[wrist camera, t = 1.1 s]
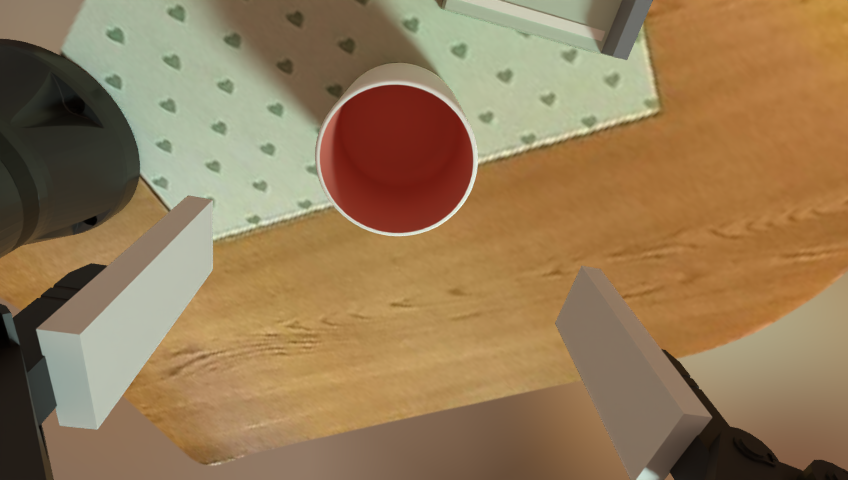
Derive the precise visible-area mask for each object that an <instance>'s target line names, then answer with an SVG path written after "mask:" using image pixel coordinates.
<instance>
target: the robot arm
mask: <svg viewBox="0 0 848 480" xmlns="http://www.w3.org/2000/svg"><path fill="white" fill-rule="evenodd" d="M139 173H140V161H139V153H138V148H137V144H136V141H135V138H134V135H133V133H132V130H131V128H130V126H129V124H128V122H127V120H126V118H125V117H124V115H123V113H122V112H121V110H120V109H119V107H118V106H117V104H116V103H115V102H114V100H113V99H112V98H111V97H110V96H109V94H108V93H107V92H106V91H105V90H104V89H103V88H102V87H101V86H100V85H99V84H98V83H97V82H96V81H95V80H94V79H93V78H92V77H90V76H89V75H88V74H87V73H86V72H84V71H83V70H82V69H80V68H79V67H77V66H76V65H75V64H73V63H71V62H70V61H68V60H67V59H65V58H63V57H61V56H60V55H58V54H56V53H53V52H51V51H49V50H47V49H44V48H42V47H39V46H36V45H33V44H29V43H26V42H22V41H16V40H9V39H0V258H1V257H3V256H5V255H6V254H8V253H9V252H11V251H13V250H15V249H16V248H18V247H20V246H22V245H26V244H31V243H36V242H41V241H46V240H51V239H56V238H60V237H65V236H70V235H75V234H79V233H83V232H86V231H88V230H91V229H93V228H95V227H97V226H99V225H101V224H102V223H104V222H105V221H107V220H108V219H110V218H111V217H113V216H114V215H116V214H117V213H119V212H120V211H121V210H122V209H123V208H124V207H125V206H126V205H127V204H128V202H129V201H130V200H131V198H132V197H133V195H134V193H135V190H136V187H137V184H138V180H139ZM212 270H213V200H211V199H205V198H199V197H194V196H187V197H186V198H185V199H183V200H182V201H181V202H180V203H179V204H178V205H177V206H176V207H174V208H173V209H172V210H171V211H170V212H169V213H168V214H166V215H165V216H164V217H163V218H162V219H161V220H160V221H158V222H157V223H156V224H155V225H154V226H153V227H152V228H150V229H149V230H148V231H147V232H146V233H145V234H144V235H143V236H141V237H140V238H139V239H138V240H137V241H136V242H135V243H133V244H132V245H131V246H130V247H129V248H128V249H127V250H125V251H124V252H123V253H122V254H121V255H120V256H119V257H117V258H116V259H115V260H114V261H113V262H112V263H111V264H110V265H108V266H106V265H99V264H92V263H91V264H89V265H86V266H84V267H81V268H79V269H77V270H74V271H72V272H70V273H68V274H67V275H66V276H65V277H63V278H62V279H61V280H60V281H58V282H57V283H56V284H55V285H54V287H53V288H49V289H48V290H47V291H46V292H44V293H43V294H42V295H41V297H40V298H37V299H36V300H34V301H33V302H32V303H31V304H29V305H28V306H27V307H26V308H24V309H23V310H22V311H21V312H19V313H18V314H17V315H16V316H14V317H13V318H12V315H11V312H10V311H9V309H8V308H7V307H6V306H5V305H2V304H0V480H54V479H53V475H52V469H51V465H50V460H49V455H48V451H47V446H46V441H45V436H44V432H43V428H42V423H43V421H44V420H45V419H46V418H47V417H48V415H49V414H50V413H51V412H52V411H53V410H54V409H55V408H56V412H57V416H58V421H59V424H60V426H68V427H78V428H87V429H98V428H99V427H100V425H101V424H102V422H103V421H104V420H105V418H106V417H107V416H108V414H109V413H110V411H111V410H112V409H113V407H114V406H115V405H116V403H117V402H118V400H119V399H120V398H121V396H122V395H123V393H124V392H125V391H126V389H127V388H128V387H129V385H130V384H131V382H132V381H133V380H134V378H135V377H136V375H137V374H138V373H139V371H140V370H141V369H142V367H143V366H144V364H145V363H146V362H147V360H148V359H149V357H150V356H151V355H152V353H153V352H154V351H155V349H156V348H157V346H158V345H159V344H160V342H161V341H162V339H163V338H164V337H165V335H166V334H167V333H168V331H169V330H170V328H171V327H172V326H173V324H174V323H175V321H176V320H177V319H178V317H179V316H180V315H181V313H182V312H183V310H184V309H185V308H186V306H187V305H188V303H189V302H190V301H191V299H192V298H193V297H194V295H195V294H196V292H197V291H198V290H199V288H200V287H201V285H202V284H203V283H204V281H205V280H206V279H207V277H208V276H209V274H210V273H211V272H212ZM555 324H556V326H557V328H558V330H559V333H560V335H561V337H562V339H563V341H564V343H565V345H566V347H567V349H568V351H569V353H570V355H571V357H572V360H573V362H574V364H575V366H576V368H577V370H578V372H579V374H580V376H581V378H582V380H583V382H584V384H585V386H586V389H587V391H588V393H589V395H590V397H591V399H592V401H593V403H594V405H595V407H596V409H597V411H598V413H599V415H600V417H601V420H602V422H603V424H604V426H605V428H606V430H607V432H608V434H609V436H610V438H611V440H612V442H613V445H614V447H615V449H616V450H617V453H618V455H619V457H620V459H621V461H622V463H623V465H624V467H625V469H626V471H627V474H628V476H629V478H630V480H664V479H665V478H666V477H667V476H668V474H669V473H671V475H672V476H673V478H674V480H848V471H846V470H845V469H842V468H840V467H838V466H836V465H834V464H833V463H830V462H827V461H824V460H814V461H813V462H812V463H811V464H810V465H809V466H808V467H807V468H806V469H805V470H804V471H802V470H800V469H797V468H794V467H792V466H789V465H787V464H784V463H781V462H779V461H778V459H777V458H776V456H775V455H774V453H773V452H772V451H771V450H770V449H769V448H768V447H767V446H766V445H765V444H764V443H763V442H762V441H760V440H759V439H757V438H756V437H754V436H753V435H751V434H750V433H747V432H745V431H743V430H741V429H738V428H734V427H730V426H729V425H728V423H727V422H726V421H725V420H724V419H723V417H722V416H721V414H720V413H719V412H718V411H717V409H716V408H715V407H714V405H713V404H712V403H711V402H710V401H709V399H708V398H707V397H706V395H705V394H704V393H703V391H702V390H700V389H699V386H698V385H697V384H696V383H695V381H694V380H693V379H692V378H690V375H689V373H688V372H687V371H686V370H685V368H684V367H683V366H682V364H681V363H680V362H679V361H678V360H676V359H675V358H674V357H673V356H672V355H670V354H669V353H668V352H667V351H666V350H663V349H660V347H659V346H658V345H657V343H656V342H655V341H654V339H653V338H652V337H651V335H650V334H649V333H648V331H647V330H646V329H645V327H644V326H643V325H642V323H641V322H640V321H639V319H638V318H637V317H636V315H635V314H634V313H633V311H632V310H631V309H630V308H629V306H628V305H627V304H626V302H625V301H624V300H623V298H622V297H621V296H620V294H619V293H618V292H617V290H616V289H615V288H614V286H613V285H612V284H611V282H610V281H609V280H608V278H607V277H606V276H605V274H604V273H603V272H602V270H601V269H597V268H592V267H586V266H581V268H580V270H579V272H578V275H577V277H576V279H575V281H574V283H573V285H572V288H571V290H570V292H569V294H568V296H567V298H566V301H565V303H564V305H563V307H562V309H561V311H560V314H559V316H558V318H557V320H556V322H555Z"/></svg>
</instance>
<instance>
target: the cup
mask: <svg viewBox="0 0 848 480" xmlns="http://www.w3.org/2000/svg"><path fill="white" fill-rule="evenodd" d="M315 161H316V169H317V174H318V177H319V181H320V183H321V186H322V188H323V190H324V192H325V194H326V196H327V197H328V199H329V200H330V202H331V203H332V204H333V205H334V207H335V208H336V209H337V210H338V211H339V212H340V213H341V214H342V215H343V216H344V217H346V218H347V219H348V220H350V221H351V222H353V223H354V224H356V225H358V226H359V227H361V228H363V229H366V230H368V231H371V232H374V233H378V234H383V235H389V236H407V235H414V234H418V233H422V232H425V231H428V230H431V229H433V228H435V227H437V226H439V225H440V224H442V223H444V222H445V221H446V220H448V219H449V218H450V217H451V216H452V215H454V214H455V213H456V212H457V211H458V210H459V208H460V207H461V206H462V205H463V203H464V202H465V200H466V199H467V197H468V195H469V193H470V192H471V189H472V187H473V184H474V181H475V178H476V173H477V166H478V151H477V144H476V140H475V136H474V133H473V131H472V128H471V126H470V124H469V122H468V120H467V118H466V116H465V114H464V112H463V110H462V108H461V106H460V104H459V102H458V100H457V99H456V97H455V95H454V93H453V92H452V90H451V89H450V88H449V86H448V85H447V84H446V83H445V82H444V81H443V80H442V79H441V78H440V77H438V76H437V75H436V74H434V73H433V72H431V71H429V70H427V69H425V68H423V67H420V66H417V65H413V64H408V63H390V64H384V65H381V66H377V67H375V68H373V69H371V70H369V71H367V72H365V73H364V74H362V75H361V76H360V77H358V78H357V79H356V80H355V81H354V82H353V83H352V84H351V86H350V87H349V88H348V89H347V90H346V92H345V93H344V94H343V95H342V96H341V98H340V99H339V100H338V101H337V102H336V104H335V105H334V106H333V107H332V109H331V110H330V111H329V113H328V114H327V116H326V118H325V119H324V121H323V123H322V126H321V128H320V131H319V134H318V137H317V142H316V150H315Z"/></svg>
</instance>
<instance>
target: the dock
mask: <svg viewBox="0 0 848 480" xmlns="http://www.w3.org/2000/svg"><path fill="white" fill-rule="evenodd" d="M652 1H653V0H443V3H442V7H441V9H443V10H446V11H450V12H453V13H457V14H460V15H464V16H467V17H471V18H474V19H478V20H481V21H485V22H488V23H492V24H495V25H499V26H502V27H506V28H509V29H513V30H516V31H520V32H523V33H527V34H530V35H534V36H537V37H541V38H544V39H548V40H551V41H555V42H558V43H562V44H565V45H569V46H572V47H576V48H579V49H583V50H586V51H590V52H594V53H598V54H603V55H607V56H612V57H616V58H620V59H625V60H627V59H628V56H629V54H630V52H631V50H632V47H633V45H634V43H635V40H636V38H637V36H638V33H639V31H640V29H641V26H642V24H643V22H644V19H645V17H646V15H647V13H648V10H649V8H650V6H651V3H652Z"/></svg>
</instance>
